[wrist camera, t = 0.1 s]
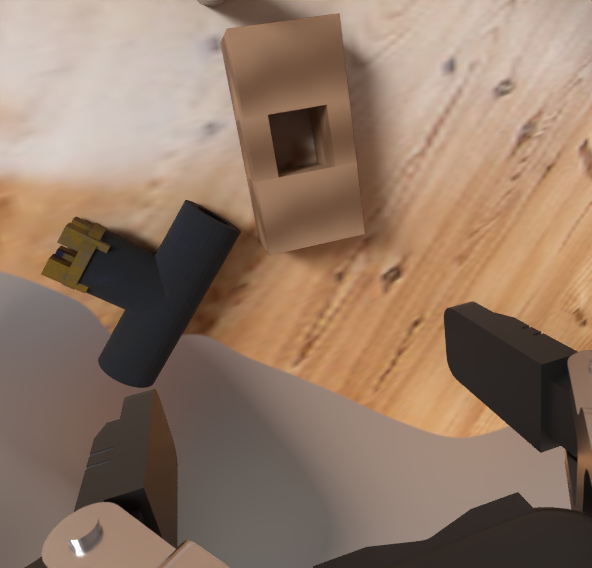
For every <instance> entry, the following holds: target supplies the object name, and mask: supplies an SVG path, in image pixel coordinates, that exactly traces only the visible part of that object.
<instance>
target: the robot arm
mask: <svg viewBox="0 0 592 568" xmlns="http://www.w3.org/2000/svg"><path fill="white" fill-rule="evenodd" d="M444 326H445V340H446V354H447V362H448V365H449V368H450V370H451V372H452V374H453V376H454V377H455V378H456V379H457V380H458V381H459V382H460V383H461V384H462V385H463V386H465V387H466V388H467V389H468V390H469V391H470V392H472V393H473V394H474V395H475V396H476V397H477V398H478V399H480V400H481V401H482V402H483V403H484V404H485V405H486V406H488V407H489V408H490V409H491V410H492V411H493V412H494V413H496V414H497V415H498V416H499V417H500V418H501V419H502V420H504V421H505V422H506V423H507V424H508V425H509V426H511V427H512V428H513V429H514V430H515V431H516V432H517V433H519V434H520V435H521V436H522V437H523V438H524V439H525V440H527V441H528V442H529V443H530V444H532V446H534V447H535V448H536V449H537V450H538V451H539V452H544V451H547V450H550V449H553V448H556V447H559V446H562V447H563V448H565V467H566V475H567V483H568V490H569V496H570V504H571V510H570V509H563V508H553V507H552V508H551V507H544V508H543V507H542V508H541V507H538V508H533V507H532V506H531V505H530V504H529V503H528V502H527V501H526V500H525V499H524V498H523V497H522V496H521V495H520V494H519V493H515V494H512V495H509V496H506V497H503V498H500V499H498V500H495V501H492V502H489V503H487V504H484V505H481V506H478V507H476V508H473V509H470V510H469V511H468V512H466V513H465V514H463V515H462V516H461V517H459V518H458V519H456V520H455V521H454V522H452V523H451V524H449V525H448V526H447V527H445V528H444V529H442V530H441V531H439V532H438V533H437V534H435V535H434V536H432V537H431V538H429V539H427V540H423V541H416V542H408V543H399V544H390V545H380V546H372V547H365V548H363V549H360V550H357V551H354V552H352V553H349V554H346V555H343V556H341V557H338V558H335V559H332V560H329V561H327V562H324V563H321V564H319V565H316V566H313V568H592V350H586V351H581V352H577V351H575V350H573V349H571V348H570V347H568V346H566V345H564V344H562V343H560V342H558V341H557V340H555V339H553V338H551V337H549V336H547V335H545V334H541V332H540V331H538V330H536V329H534V328H532V327H530V328H529V325H527V324H525V323H523V322H521V321H519V320H518V319H516V318H513V317H510V316H506V315H502V314H498V313H493V312H492V311H490V310H488V309H486V308H484V307H483V306H481V305H479V304H477V303H475V302H468V303H465V304H461V305H457V306H454V307H450V308H447V309H446V310H445V313H444ZM86 467H87V470H85V474H84V477H83V481H82V484H81V488H80V492H79V495H78V499H77V502H76V506H75V510H74V513H72V514H71V515H69V516H68V517H66V518H65V519H64V520H63V521H61V522H60V523H59V524H58V525H57V526H56V527H55V528H54V530H53V531H52V532H51V533H50V535H49V536H48V538H47V539H46V541H45V543H44V546H43V549H42V557H40V558H39V559H38V560H36V561H35V562H33V563H31V564H30V565H28V566H27V567H25V568H230V567H228V566H227V565H225V564H224V563H223V562H221V561H220V560H218V559H217V558H216V557H214V556H213V555H211V554H210V553H208V552H207V551H206V550H204V549H203V548H202V547H200V546H199V545H197V544H195V543H194V542H192V541H189V540H185V541H184V542H183V543H182V544H181V545H180V546H179V547H178V548H177V500H178V499H177V492H178V487H177V486H178V485H177V484H178V483H177V480H178V478H177V477H178V475H177V474H178V472H177V471H178V469H177V467H178V464H177V455H176V449H175V445H174V441H173V438H172V435H171V431H170V428H169V426H168V422H167V419H166V416H165V413H164V410H163V407H162V404H161V401H160V398H159V395H158V393H157V391H156V390H155V389H153V390H149V391H146V392H142V393H139V394H135V395H131V396H128V397H125V398H124V402H123V407H122V412H121V416H120V419H119V420H115V421H112V422H108V423H106V425H105V426H104V427H103V428H102V430H101V431H100V432H99V433H98V435H97V436H96V437H95V438H94V441H93V445H92V449H91V452H90V457H89V459H88V463H87V466H86Z"/></svg>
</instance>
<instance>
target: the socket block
mask: <svg viewBox="0 0 592 568" xmlns="http://www.w3.org/2000/svg"><path fill="white" fill-rule="evenodd" d="M221 48H222V53H223V58H224V63H225V69H226V74H227V79H228V84H229V89H230V94H231V99H232V104H233V109H234V114H235V119H236V125H237V130H238V135H239V140H240V145H241V150H242V155H243V160H244V165H245V170H246V175H247V181H248V186H249V191H250V196H251V201H252V206H253V211H254V216H255V221H256V226H257V232H258V237H259V242H260V243H261V245H262V246H263V247H264V248H265V250H266V251H267V252H268V254H269V255H274V254H279V253H283V252H287V251H292V250H296V249H301V248H305V247H310V246H314V245H318V244H323V243H327V242H332V241H336V240H341V239H345V238H349V237H354V236H358V235H363V234H365V231H364V222H363V213H362V205H361V196H360V188H359V179H358V170H357V162H356V153H355V144H354V136H353V127H352V118H351V110H350V101H349V92H348V84H347V75H346V66H345V58H344V49H343V40H342V32H341V23H340V15H339V13H338V14H331V15H323V16H316V17H309V18H301V19H294V20H287V21H279V22H272V23H265V24H257V25H250V26H243V27H235V28H228V29H226V32H225V34H224V36H223V38H222V41H221ZM303 109H309V111H310V117H311V124H312V131H313V138H314V145H315V152H316V159H317V163H316V164H310V165H305V166H300V167H295V168H290V169H285V170H279V171H277V165H276V159H275V153H274V148H273V142H272V136H271V130H270V125H269V119H268V115H274V114H280V113H286V112H291V111H297V110H303Z"/></svg>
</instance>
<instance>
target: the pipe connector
mask: <svg viewBox="0 0 592 568" xmlns="http://www.w3.org/2000/svg"><path fill="white" fill-rule="evenodd" d="M106 229H107V228H106V227H104V226H102V225H99V224H97V223H95V224H94V225H93V224H91V223H89V222H87V221H85V220H83V219H81V218H78V217H75V218H74V219H73V220H72V222H71V223H68V224H67V225H66V226H65V228H64V230H63V232H62V234H61V236H60V238H59V240H58V243H60V244H62V245H64V246H67V247H69V248H71V249H73V250H75V251H77V252H78V253H76V252H74V251H72V250H70V249H67V248H65V247H63V246H60V247H59V248H58V249H57V251H56V253H55V254H53V255H52V256H51V257H50V258H49V260H48V261H47V263H46V265H45V267H44V269H43V271H42V273H41V274H42V275H44V276H46V277H48V278H51V279H53V280H55V281H58V282H60V283H62V284H63V285H65V286H67V287H70V288H72V289H76V290H79V291H81V292H83V293H89V294H91V295H93V296H95V297H98V298H100V299H102V300H105V301H107V302H109V303H112V304H114V305H116V306H119V307H121V308H123V309H125V311H124V313H123V315H122V317H121V318H120V320H119V322H118V324H117V326H116V327H115V329H114V331H113V333H112V335H111V337H110V339H109V340H108V342H107V344H106V346H105V347H104V349H103V351H102V353H101V355H100V357H99V359H98V362H99V365H100V367H101V369H102V370H103V371H104V372H105V373H106V374H107V375H109V376H110V377H112V378H113V379H115V380H116V381H118V382H121V383H123V384H125V385H129V386H133V387H139V388H145V387H149V386H151V385H153V383H154V382H155V380H156V378H157V377H158V375H159V373H160V371H161V370H162V368H163V366H164V365H165V363H166V361H167V359H168V358H169V356H170V354H171V352H172V351H173V349H174V347H175V346H176V344H177V342H178V340H179V339H180V337H181V335H182V333H183V332H184V330H185V328H186V326H187V325H188V323H189V321H190V319H191V318H192V316H193V314H194V312H195V311H196V309H197V307H198V306H199V304H200V302H201V300H202V299H203V297H204V295H205V293H206V292H207V290H208V288H209V286H210V285H211V283H212V281H213V279H214V278H215V276H216V274H217V272H218V271H219V269H220V267H221V266H222V264H223V262H224V260H225V259H226V257H227V255H228V253H229V252H230V250H231V248H232V246H233V245H234V243H235V241H236V239H237V238H238V236H239V234H240V233H241V231H240V230H239V229H238V228H237V227H235V226H234V225H232V224H231V223H230V222H228V221H226V220H225V219H223V218H222V217H220V216H218V215H216V214H214V213H213V212H211V211H209V210H207V209H205V208H204V207H202V206H200V205H198V204H196V203H194V202H191V201H188V200H185V202H184V204H183V206H182V207H181V209H180V211H179V213H178V215H177V217H176V218H175V220H174V222H173V224H172V226H171V227H170V229H169V231H168V233H167V235H166V237H165V238H164V240H163V242H162V244H161V246H160V247H159V249H158V251H157V253H156V254H154V253H152V252H150V251H148V250H146V249H144V248H142V247H140V246H138V245H136V244H134V243H131V242H129V241H127V240H125V239H123V238H121V237H119V236H117V235H115V234H113V233H111V232H109V231H107V230H106Z"/></svg>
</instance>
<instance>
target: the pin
mask: <svg viewBox="0 0 592 568" xmlns="http://www.w3.org/2000/svg"><path fill="white" fill-rule="evenodd" d="M197 1H198V2H199V3H201V4H203V5H205V6H216V5H219V4H221V3H222V2H223V1H224V0H197Z"/></svg>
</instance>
